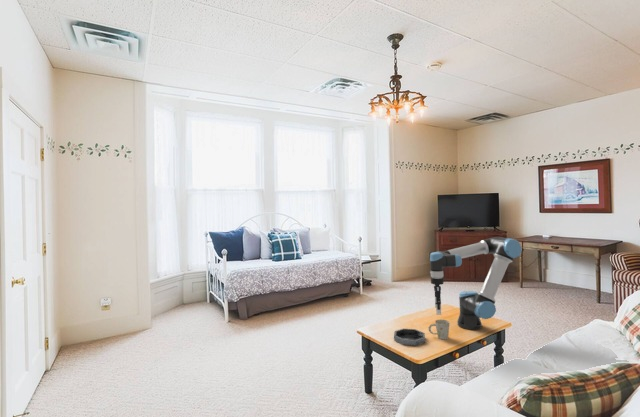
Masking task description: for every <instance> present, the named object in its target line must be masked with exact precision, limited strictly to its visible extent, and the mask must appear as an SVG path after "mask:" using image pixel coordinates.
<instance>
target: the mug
mask: <svg viewBox="0 0 640 417" xmlns="http://www.w3.org/2000/svg"><path fill="white" fill-rule="evenodd" d="M432 327H436V332H433V331H432ZM428 331H429V333H430V334H431V335H434V336H435V335H437V338H438V339H440V340H448V339H449V332H450V320H447V319H436V320H435V323H431V324H430V325H429V326H428Z"/></svg>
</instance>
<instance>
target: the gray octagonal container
mask: <svg viewBox="0 0 640 417" xmlns="http://www.w3.org/2000/svg"><path fill="white" fill-rule="evenodd" d="M393 340H394V342H396V343H397V344H401V345H403V346H414V347H416V346H417V347H418V346H420V345H422V344H423V345H424V344H425V343H426V334H425V332H423V331H420V330H418V329H416V328H400V329H396V330H394V333H393Z"/></svg>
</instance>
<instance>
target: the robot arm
mask: <svg viewBox="0 0 640 417" xmlns="http://www.w3.org/2000/svg"><path fill="white" fill-rule="evenodd" d="M522 250H523V249H522V246H521V242H519V241H518V239H517V240H516V239H515V238H511V237H502V236H495V237H490V238H486V239H482V240H480V241H479V242H476V243H473V244H468V245H464V246H460V247H455V248H452V249H448V250H444V251H443V250H442V251H440V250H439V251H435V252H431V253H430V255H429V262H430V264H429V265H430V271H429V274H430V283H431V284H432V285H433V288H434V289H433V290H434V307H435V308H436V310H435V311H436V315H437V316H442V299H441V294H442V292H441V291H442V288H441V285H443V284H444V282H445V281H444V280H445V279H444V268H457V267H460V266H461V265H462V264H463V260H462V259H466V258H471V257H474V256H479V255H483V254H484V255H489V254H492V255H493V257H494V258H493V261H492V263H491V265H490V268H489V270H488V273H487V275H486V277H485V279H484V282H483V284H482V286H481V288H480V291H473V290H472V291H471V290H470V291H469V290H467V291H465V290H463V291H460V292H459V299H458V300H459V315H458V318H457V321H456V322H457V326H458V327H459V328H462V329H465V330H472V331H474V330H475V331H476V330H481V329H482V328H483V325H482V324H483V323H482V321H481V319H483V320H489V319H491V318H493V317H494V315H496V312H497V307H496V305H495V303H496V299H495V297H496V293H497V292H498V290H499V288H500V285H501V283H502V280H503V278H504V276H505V273H506V271H507V268H508V267H509V264H510V263H513V262H514V260H515V258H518V257H520V255H521V254H522Z"/></svg>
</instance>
